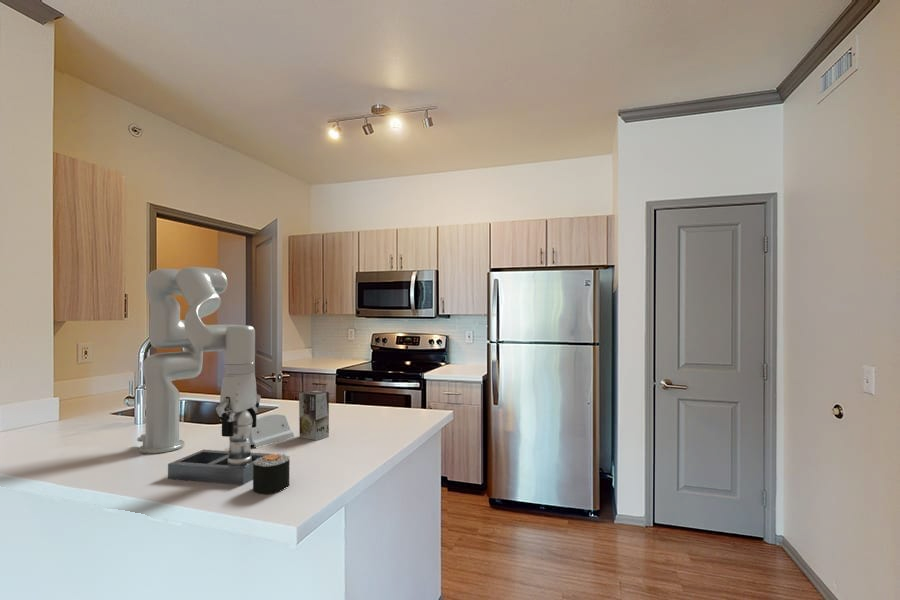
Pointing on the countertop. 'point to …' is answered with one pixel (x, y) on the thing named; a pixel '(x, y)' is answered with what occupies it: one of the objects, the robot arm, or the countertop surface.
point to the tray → (211, 468)
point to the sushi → (271, 473)
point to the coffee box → (314, 414)
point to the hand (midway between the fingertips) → (239, 431)
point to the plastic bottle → (240, 440)
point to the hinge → (270, 430)
